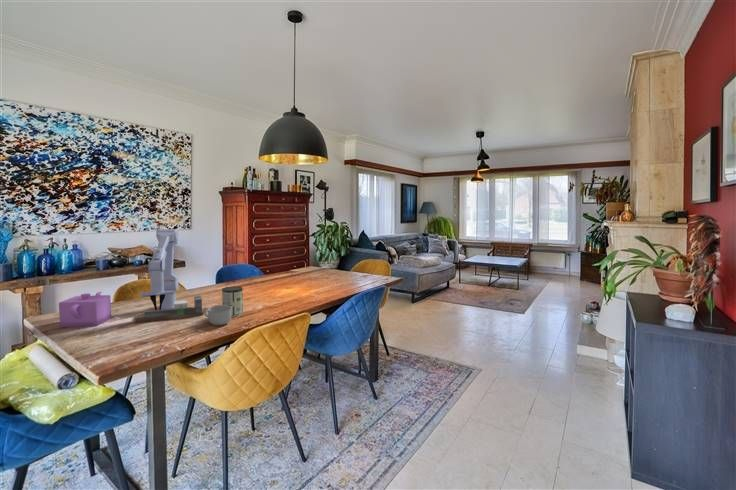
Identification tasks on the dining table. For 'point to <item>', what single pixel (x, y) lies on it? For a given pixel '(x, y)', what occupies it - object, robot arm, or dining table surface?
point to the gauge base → (172, 312)
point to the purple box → (85, 310)
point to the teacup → (218, 314)
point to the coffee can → (233, 299)
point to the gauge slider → (180, 304)
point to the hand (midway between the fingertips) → (158, 309)
